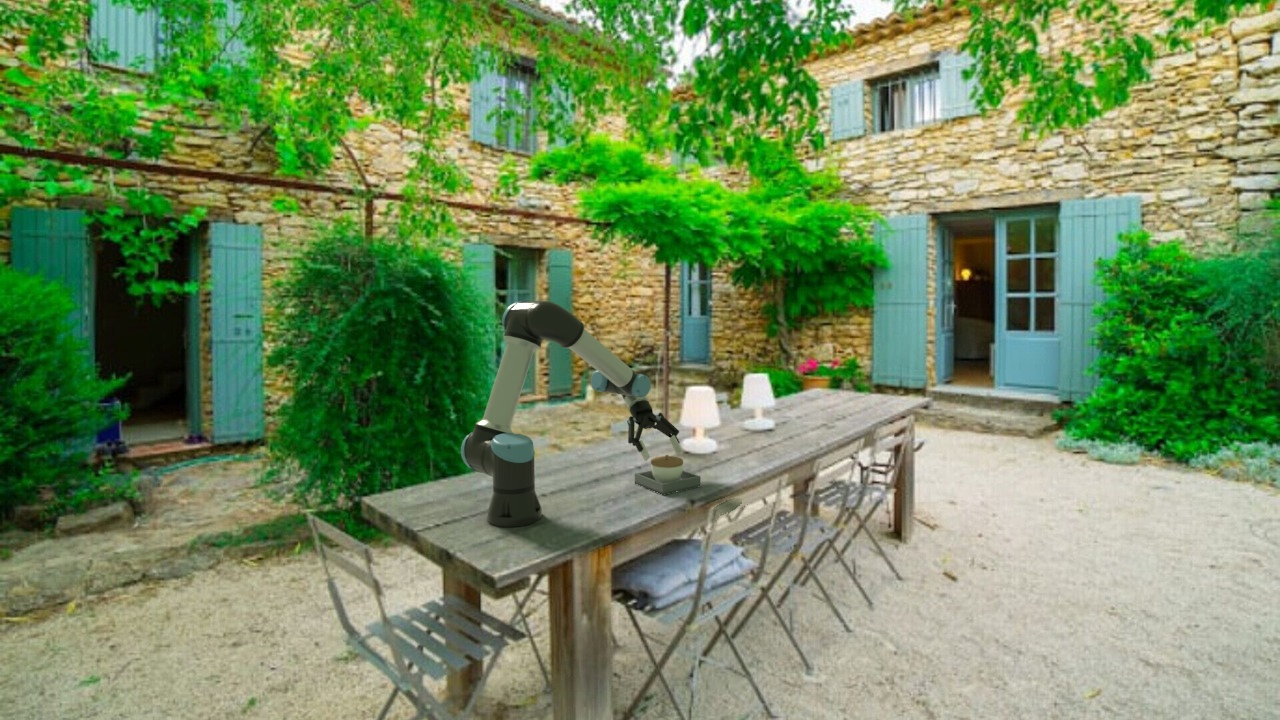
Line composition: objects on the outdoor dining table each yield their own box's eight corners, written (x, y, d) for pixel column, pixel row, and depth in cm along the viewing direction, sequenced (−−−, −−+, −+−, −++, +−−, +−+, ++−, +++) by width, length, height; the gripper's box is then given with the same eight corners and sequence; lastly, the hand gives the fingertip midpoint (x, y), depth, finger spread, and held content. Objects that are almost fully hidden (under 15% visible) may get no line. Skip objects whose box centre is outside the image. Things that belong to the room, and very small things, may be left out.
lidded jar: (683, 478, 213) (683, 451, 212) (682, 488, 202) (682, 459, 201) (652, 478, 214) (652, 451, 213) (649, 487, 203) (649, 459, 202)
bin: (662, 495, 197) (662, 484, 197) (634, 483, 210) (634, 473, 209) (700, 486, 206) (700, 476, 206) (671, 476, 219) (671, 466, 218)
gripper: (662, 408, 230) (687, 456, 219) (604, 415, 216) (628, 467, 205) (671, 395, 225) (697, 444, 214) (612, 402, 211) (637, 455, 200)
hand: (664, 456), depth 209 cm, fingers open, 13 cm apart
